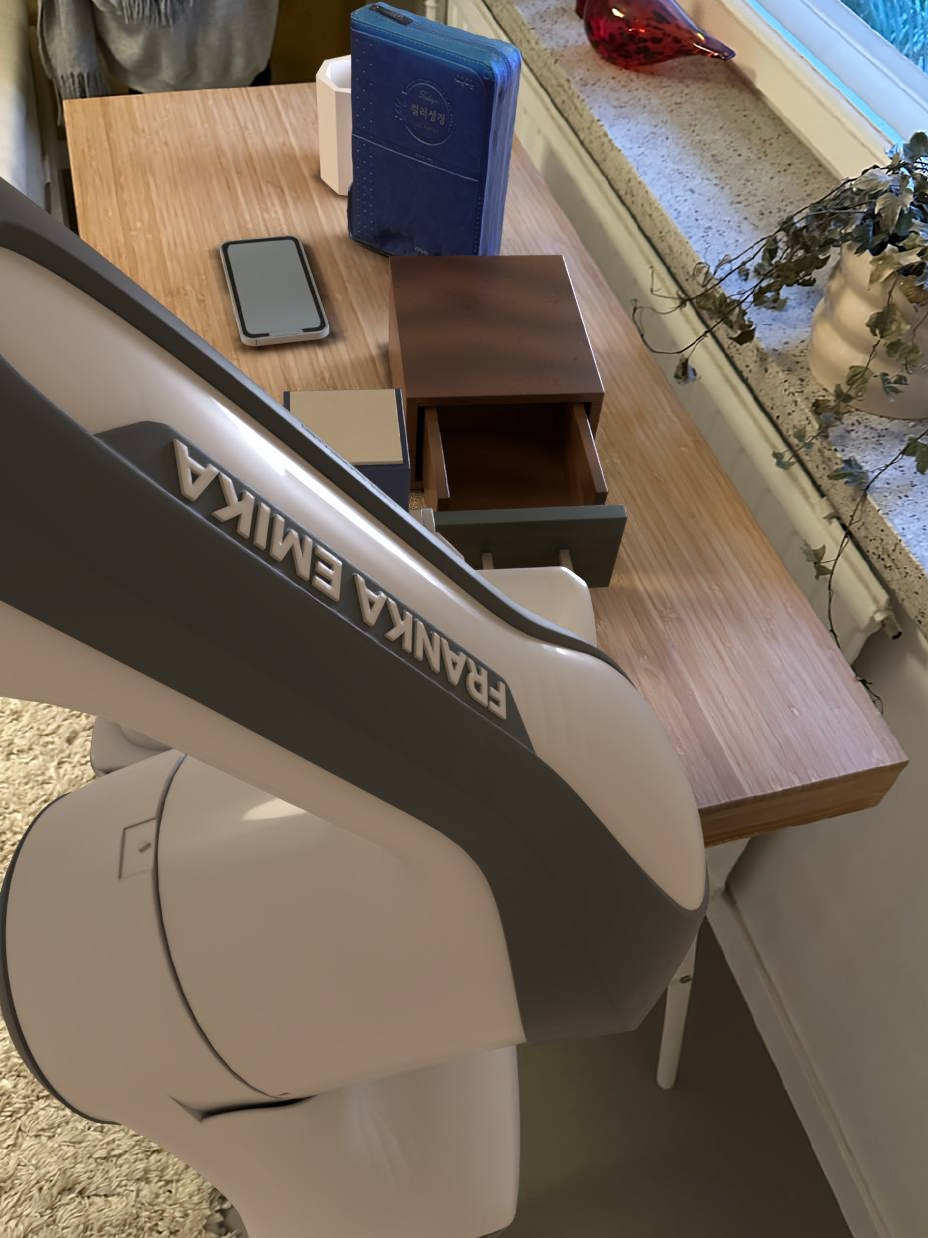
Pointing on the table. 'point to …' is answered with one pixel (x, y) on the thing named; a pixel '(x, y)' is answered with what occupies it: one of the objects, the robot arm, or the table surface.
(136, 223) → the table surface
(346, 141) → the mug
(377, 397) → the box
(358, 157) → the book
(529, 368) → the cabinet
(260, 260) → the smartphone
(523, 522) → the drawer
